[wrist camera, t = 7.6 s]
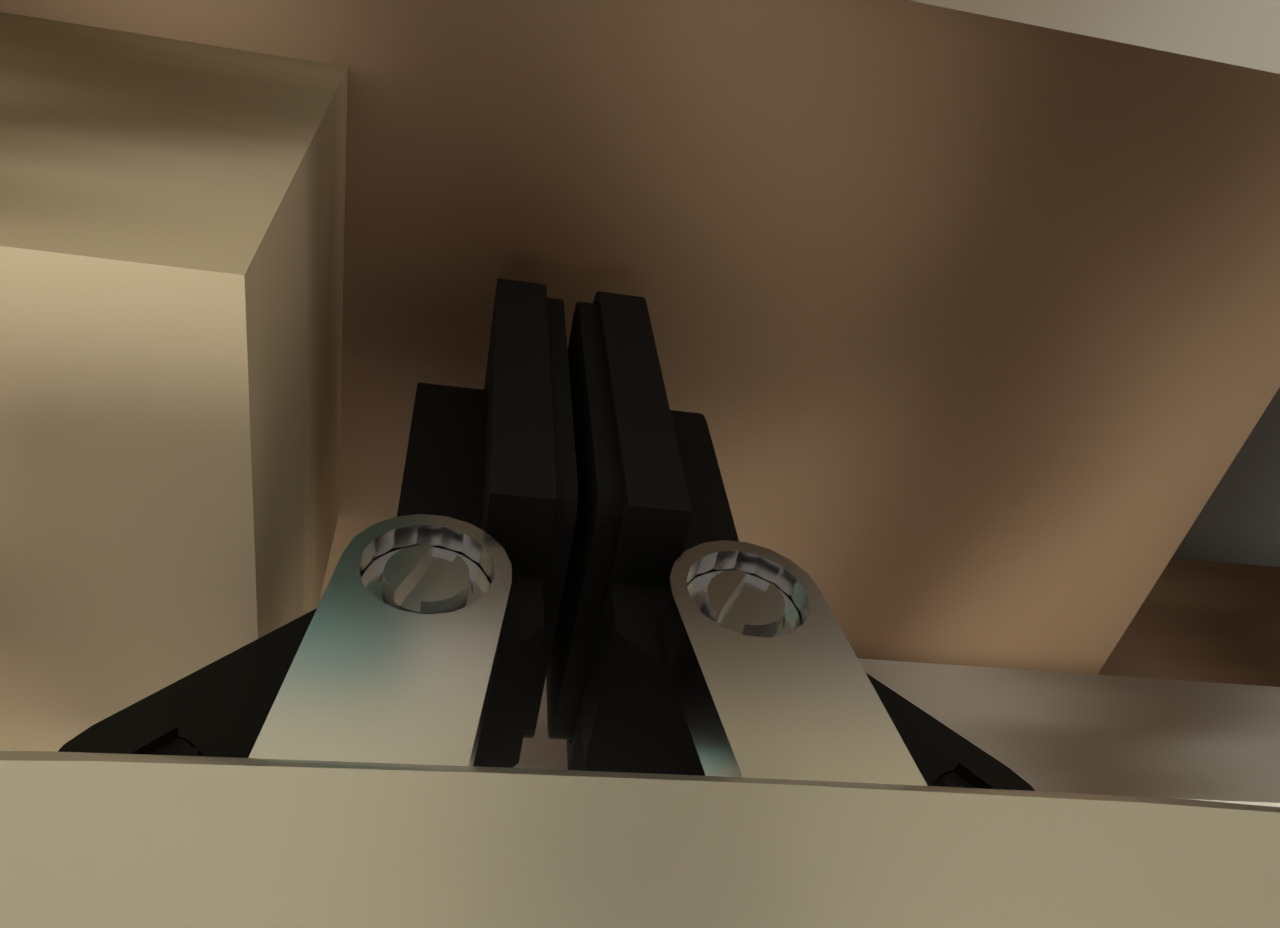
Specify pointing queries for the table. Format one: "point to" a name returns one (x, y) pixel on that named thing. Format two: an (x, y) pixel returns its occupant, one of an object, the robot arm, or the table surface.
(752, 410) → the trap deck
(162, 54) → the maple block
